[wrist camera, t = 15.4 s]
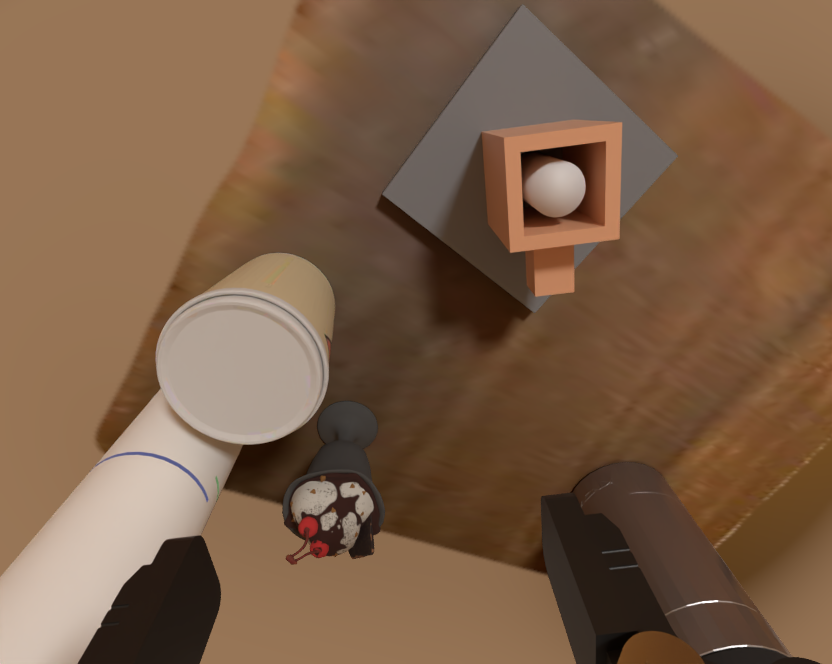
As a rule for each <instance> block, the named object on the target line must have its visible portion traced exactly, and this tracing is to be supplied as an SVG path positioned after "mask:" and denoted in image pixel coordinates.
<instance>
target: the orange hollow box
mask: <svg viewBox="0 0 832 664" xmlns="http://www.w3.org/2000/svg"><path fill="white" fill-rule="evenodd" d="M482 146H483V160H484V174H485V189H486V203H487V217H488V225H489V226H490V227H491V229H492V230H493V231H494V232H495V234H496V235H497V236H498V238H499V239H500V240H501V241H502V243H503V244H504V245H505V247H506V248H507V249H508V251H509V252H510V253H513V252H521V251H525V256H526V279H527V286H528V287H529V289H530V290H531V291H532V293H533V294H534V296H535V297H537V296H545V295H553V294H561V293H569V292H574V245H576V244H584V243H592V242H600V241H607V240H615V239H619V232H620V193H621V154H622V122H609V121H591V120H567V121H560V122H552V123H544V124H537V125H529V126H521V127H514V128H506V129H499V130H491V131H483V132H482ZM557 147H562V160H564V161H567V162H570V163H572V164H574V165H575V166H577V167H578V168H579V169H580V171H581V172H582V174H583V176H584V179H585V185H586V187H585V194H584V197H583V199H582V201H581V203H580V204H579V206H578V207H577V208H576V209H575V210H574V211H572V212H571V213H569V214H567V215H565V216H562V217H549V216H546V215H544V214H542V213H541V212H539V211H538V210H536V209H535V208H534V207H526V208H523V199H522V177H521V154H520V152H526V151H534V150H541V149H549V148H557Z"/></svg>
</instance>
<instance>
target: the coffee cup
mask: <svg viewBox="0 0 832 664" xmlns="http://www.w3.org/2000/svg"><path fill="white" fill-rule="evenodd" d="M334 317H335V300H334V295H333V291H332V288H331V286H330V284H329V282H328V280H327V279H326V277H325V276H324V275H323V273H322V272H321V271H320V270H319V269H318V268H317V267H315V266H314V265H313V264H312V263H310V262H308V261H307V260H305V259H303V258H301V257H298V256H295V255H292V254H286V253H271V254H265V255H262V256H259V257H257V258H255V259H253V260H251V261H249V262H248V263H246V264H245V265H243V266H242V267H240V268H239V269H237V270H236V271H234V272H233V273H231V274H230V275H228V276H227V277H226V278H224V279H223V280H221V281H220V282H218V283H217V284H216V285H214V286H213V287H211V288H210V289H209V290H207V291H206V292H204V293H203V294H201V295H199V296H197V297H195V298H193V299H191V300H190V301H188V302H187V303H185V304H184V305H183V306H181V307H180V308H179V309H178V310H177V311H176V312H175V313H174V314H173V315H172V316H171V317H170V319H169V320H168V321H167V323H166V325H165V326H164V328H163V330H162V332H161V334H160V337H159V340H158V344H157V349H156V368H157V376H158V381H159V384H160V387H161V390H162V392H163V394H164V396H165V398H166V400H167V401H168V403H169V405H170V406H171V407H172V408H173V410H174V411H175V412H176V413H177V414H178V415H179V416H180V417H181V418H182V419H183V420H184V421H185V422H186V423H188V424H189V425H190V426H192V427H193V428H194V429H196V430H198V431H199V432H201V433H203V434H205V435H207V436H209V437H212V438H214V439H217V440H220V441H224V442H228V443H234V444H246V445H251V444H261V443H267V442H271V441H274V440H277V439H280V438H282V437H284V436H286V435H288V434H290V433H292V432H294V431H295V430H297V429H299V428H300V427H301V426H303V425H304V424H305V423H306V422H307V421H308V420H309V419H310V418H311V417H312V416H313V415H314V414H315V412H316V411H317V410H318V408H319V406H320V405H321V403H322V401H323V398H324V396H325V393H326V390H327V386H328V380H329V359H330V351H331V343H332V334H333V326H334Z"/></svg>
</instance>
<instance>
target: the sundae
mask: <svg viewBox="0 0 832 664" xmlns="http://www.w3.org/2000/svg"><path fill="white" fill-rule="evenodd" d="M317 428H318V433H319V435H320V438H321V439H322V440H323V441H324V442H325V445H324V446H322V447H321V449H320V450H319V451H318V453H317V454H316V456H315V457H314V459H313V461H312V462H311V465H310V467H309V469H308V471H307V474H306V475H304V476H302V477H300V478H297V479H296V480H295V481H293V482H292V483H291V484H290V486H289V487H288V489H287V491H286V493H285V495H284V500H283V512H282V513H283V517H284V524H285V525H286V527H288V528H289V529H290V530H291V531H292V532H293V533H294V534H295V535H296V536H298V537H299V538H302V539H303V540H305V543H304V545H303V547H302V548H301V549H300V550H299V551H297V552H296V553H294V554H293V555H287V557H286V560H287V561H288V562H290V563H291V564H297V561H298V560H300V559H302V558H303V557H305V556H307V555H309V554H312V555H313V556H314V557H316V558H321V557H325V556H335V557H336V556H337V555H339V554H342V553H344V552H346V551H349V554H350V556H351V558H352V559H356V558H361V557H365V556H367V555H372V554H373V553H374V539H373V535H376V534H378V533H379V532H380V526H381V525H382V523H383V520H384V516H385V508H384V504H383V501H382V498H381V495H380V493H379V492H378V490H377V488H376V487H375V485H374V484H373V483H372V478H371V470H370V466H369V462H368V459H367V456H366V453H365V452H364V450H363V449H364V448H366V447H367V446H369V445H370V444H371V443H372V442H373V440H374V439H375V437H376V434H377V429H378V425H377V421H376V418H375V416H374V415H373V413H372V412H371V411H370V410H369V409H368V408H367V407H365V406H364V405H362V404H359V403H357V402H352V401H342V402H337V403H334V404H332V405H330V406H328V407H327V408H326V409H325V410H324V411H323V412H322V413H321V415H320V417H319V419H318V426H317ZM307 542H308V543H309V544H310V552H309V553H306V554H305V555H303V556H302V557H300V558H298V559H295V560H294V558H293V557H294V556H295V555H297V554H298V553H299V552H301V551H302V549H304V548H305V546H306V544H307Z"/></svg>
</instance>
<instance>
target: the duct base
mask: <svg viewBox="0 0 832 664" xmlns="http://www.w3.org/2000/svg"><path fill="white" fill-rule="evenodd" d="M567 120H591V121H609V122H622V154H621V193H620V219H621V218H622V217H623V216H624V215H625V214H626V212H627V211H628V210H629V209H630V208H631V207H632V206H633V205H634V204H635V203H636V201H637V200H638V199H639V198H640V197H641V196H642V195H643V194H644V193H645V192H646V191H647V189H648V188H649V187H650V186H651V185H652V184H653V183H654V182H655V181H656V180H657V178H658V177H659V176H660V175H661V174H662V173H663V172H664V171H665V170H666V169H667V168H668V166H669V165H670V164H671V163H672V162H673V161H674V160H675V159H676V158H677V157H678V155H677V154H676V153H675V152H674V151H673V150H672V149H671V148H669V147H668V146H667V145H666V144H665V143H664V142H663V141H662V140H661V139H660V138H659V137H658V136H657V135H656V134H655V133H654V132H653V131H652V130H651V129H650V128H649V127H648V126H647V125H646V124H645V123H644V122H643V121H642V120H641V119H640V118H639V117H638V116H637V115H636V114H635V113H634V112H633V111H632V110H631V109H630V108H629V107H627V106H626V105H625V104H624V103H623V102H622V101H621V100H620V99H619V98H618V97H617V96H616V95H615V94H614V93H613V92H612V91H611V90H610V89H609V88H608V87H607V86H606V85H605V84H604V83H603V82H602V81H601V80H600V79H599V78H598V77H597V76H596V75H595V74H594V73H593V72H592V71H591V70H590V69H589V68H588V67H587V66H585V65H584V64H583V63H582V62H581V61H580V60H579V59H578V58H577V57H576V56H575V55H574V54H573V53H572V52H571V51H570V50H569V49H568V48H567V47H566V46H565V45H564V44H563V43H562V42H561V41H560V40H559V39H558V38H557V37H556V36H555V35H554V34H553V33H552V32H551V31H550V30H549V29H548V28H547V27H546V26H545V25H543V24H542V23H541V22H540V21H539V20H538V19H537V18H536V17H535V16H534V15H533V14H532V13H531V12H530V11H529V10H528V9H527V8H526V7H525V6H524V5H523V4H522V5H521V6H520V7H519V8H518V9H517V10H516V12H515V13H514V14H513V16H512V17H511V19H510V20H509V21H508V23H507V24H506V25H505V27H504V28H503V29H502V31H501V32H500V33H499V35H498V36H497V38H496V39H495V40H494V42H493V43H492V44H491V46H490V47H489V48H488V50H487V51H486V52H485V54H484V55H483V56H482V58H481V59H480V61H479V62H478V63H477V65H476V66H475V67H474V69H473V70H472V71H471V73H470V74H469V75H468V77H467V78H466V79H465V81H464V82H463V84H462V85H461V86H460V88H459V89H458V90H457V92H456V93H455V94H454V96H453V97H452V98H451V100H450V101H449V102H448V104H447V105H446V107H445V108H444V109H443V111H442V112H441V113H440V115H439V116H438V117H437V119H436V120H435V121H434V123H433V124H432V125H431V127H430V128H429V130H428V131H427V132H426V134H425V135H424V136H423V138H422V139H421V140H420V142H419V143H418V144H417V146H416V147H415V148H414V150H413V151H412V153H411V154H410V155H409V157H408V158H407V159H406V161H405V162H404V163H403V165H402V166H401V167H400V169H399V170H398V171H397V173H396V174H395V176H394V177H393V178H392V180H391V181H390V182H389V184H388V185H387V186H386V188H385V189H384V190H383V192H382V195H384V196H385V197H386V198H388V199H389V200H390V201H391V202H393V203H394V204H395V205H397V206H398V207H399V208H400V209H402V210H403V211H404V212H406V213H407V214H408V215H409V216H411V217H412V218H413V219H414V220H416V221H417V222H418V223H420V224H421V225H422V226H423V227H425V228H426V229H427V230H429V231H430V232H431V233H432V234H434V235H435V236H436V237H438V238H439V239H440V240H441V241H443V242H444V243H445V244H447V245H448V246H449V247H450V248H452V249H453V250H454V251H456V252H457V253H458V254H459V255H461V256H462V257H463V258H465V259H466V260H467V261H468V262H470V263H471V264H472V265H473V266H475V267H476V268H477V269H479V270H480V271H481V272H482V273H484V274H485V275H486V276H488V277H489V278H490V279H491V280H493V281H494V282H495V283H497V284H498V285H499V286H500V287H502V288H503V289H504V290H506V291H507V292H508V293H509V294H511V295H512V296H513V297H515V298H516V299H517V300H518V301H520V302H521V303H522V304H524V305H525V306H526V307H527V308H529V309H530V310H531V311H533V312H534V313H535V312H536V311H537V310H538V309H539V308H540V307H541V306H542V304H543V303H544V302H545V301H546V300H547V299H548V298H549V297H550V296H551V295H545V296H537V297H535V296H534V294H533V293H532V291H531V290H530V289H529V287H528V286H527V279H526V256H525V251H521V252H513V253H510V252H509V251H508V249H507V248H506V247H505V245H504V244H503V243H502V241H501V240H500V239H499V238H498V236H497V235H496V234H495V232H494V231H493V230H492V229H491V227H490V226H489V225H488V217H487V203H486V189H485V174H484V160H483V146H482V132H483V131H491V130H499V129H506V128H514V127H521V126H529V125H537V124H544V123H552V122H560V121H567ZM520 154H521V177H522V199H523V208H526V207H534V208H535V209H536V210H538V211H539V212H541V213H542V214H544V215H546V216H549V217H562V216H565V215H567V214H569V213H571V212H572V211H574V210H575V209H576V208H577V207H578V206H579V204H580V203H581V201H582V199H583V197H584V194H585V187H586V185H585V179H584V176H583V174H582V172H581V171H580V169H579V168H578V167H577V166H575V165H574V164H572V163H570V162H567V161H564V160H562V147H557V148H549V149H541V150H534V151H526V152H520ZM598 243H599V242H592V243H584V244H576V245H574V269H575V268H576V267H577V266H578V265H579V264H580V263H581V262H582V261H583V260H584V258H585V257H586V256H587V255H588V254H589V253H590V252H591V251H592V250H593V249H594V247H595V246H596V245H597V244H598Z"/></svg>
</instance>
